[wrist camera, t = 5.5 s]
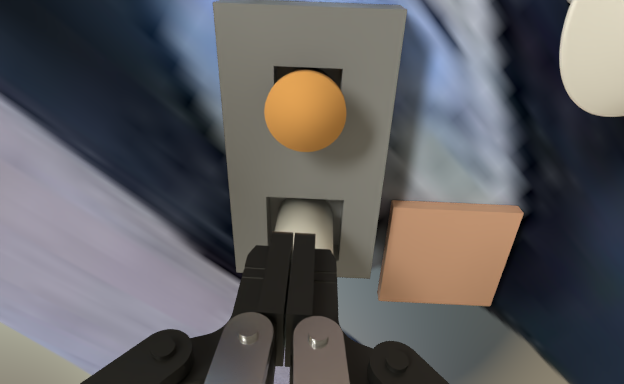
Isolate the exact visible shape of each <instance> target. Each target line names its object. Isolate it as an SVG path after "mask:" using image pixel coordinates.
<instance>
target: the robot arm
mask: <svg viewBox="0 0 624 384" xmlns="http://www.w3.org/2000/svg"><path fill="white" fill-rule="evenodd" d="M315 237H316V234H311V233H295V236H294V245H293V232H277V231H273V232H272V236H271V241H270V246H263V245H256V246H255V247H254V248H253V249H252V250H251V252H250V253H249V254H248V255H247V259H246V263H245V268H244V271H243V274H242V278H241V282H240V286H239V290H238V294H237V298H236V302H235V306H234V310H233V313H232V316H231V318H230V320H229V321H228V322H227V323H226V324H225V325H224V326H223V327H222V328H220V329H219V330H217V331H215V332H213V333H210V334H207V335H203V336H198V337H194V338H189V337H188V335H187V334H185V333H184V332H182V331H179V330H174V329H167V330H162V331H159V332H157V333H154V334H152V335H151V336H149V337H148V338H146V339H145V340H143V341H142V342H140V343H139V344H137V345H136V346H135V347H133V348H132V349H130V350H129V351H127V352H126V353H124V354H123V355H121V356H120V357H118V358H117V359H116V360H114V361H113V362H111V363H110V364H108V365H107V366H105V367H104V368H102V369H101V370H99V371H98V372H96V373H95V374H94V375H92V376H91V377H89V378H88V379H86V380H85V381H83V382H82V383H80V384H274V373H275V366H283V359H284V349H285V367H290V384H449V383H448V382H447V381H446V380H445V379H444V378H443V377H441V376H440V375H439V374H438V373H437V372H436V371H435V370H434V369H433V368H432V367H431V366H430V365H429V364H427V362H426V361H425V360H423V359H422V358H421V357H420V356H419V355H418V354H417V353H416V352H415V351H414V350H413V349H411V348H410V347H409V346H407V345H405V344H403V343H400V342H395V341H386V342H382V343H380V344H378V345H377V346H376V347H374V349H372V348H370V347H367V346H364V345H362V344H359V343H357V342H355V341H353V340H351V339H350V338H349V337H347V336H346V335H345V333H344V332H343V331H342V329H341V327H340V325H339V321H338V296H337V262H336V259H335V257H334V255H333V254H332V252H331V250H330V249H315Z"/></svg>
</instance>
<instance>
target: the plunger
mask: <svg viewBox="0 0 624 384" xmlns="http://www.w3.org/2000/svg"><path fill="white" fill-rule="evenodd" d="M264 114H265V121H266V124H267V127H268V129H269V131H270V133H271V134H272V135H273V137H274V138H275V139H276V140H277V141H278V142H279V143H281V144H282V145H284V146H285V147H287V148H289V149H292V150H295V151H299V152H313V151H318V150H321V149H323V148H325V147H327V146H329V145H330V144H332V143H333V142H334V141H335V140H336V139H337V138H338V136H339V135H340V134H341V132H342V130H343V128H344V125H345V122H346V104H345V99H344V96H343V94H342V92H341V90H340V88H339V87H338V85H337V84H336V83H335V82H334V81H333V80H332V79H331V78H330V77H329V76H328V75H327V74H326V73H325V72H324V71H322V70H320V69H318V68H310V67H301V68H298V69H296V70H294V71H292V72H291V73H288V74H286V75H285V76H283V77H281V78H280V79H279V80H278V81H277V82H276V83H275V84H274V85H273V87H272V88H271V90H270V92H269V94H268V97H267V99H266V102H265V109H264Z"/></svg>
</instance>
